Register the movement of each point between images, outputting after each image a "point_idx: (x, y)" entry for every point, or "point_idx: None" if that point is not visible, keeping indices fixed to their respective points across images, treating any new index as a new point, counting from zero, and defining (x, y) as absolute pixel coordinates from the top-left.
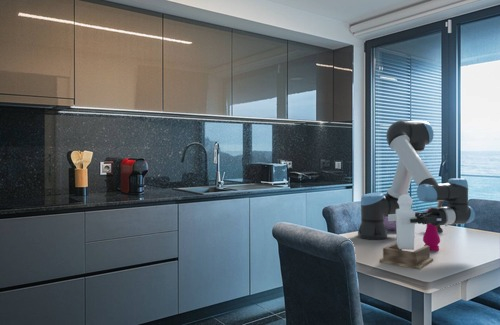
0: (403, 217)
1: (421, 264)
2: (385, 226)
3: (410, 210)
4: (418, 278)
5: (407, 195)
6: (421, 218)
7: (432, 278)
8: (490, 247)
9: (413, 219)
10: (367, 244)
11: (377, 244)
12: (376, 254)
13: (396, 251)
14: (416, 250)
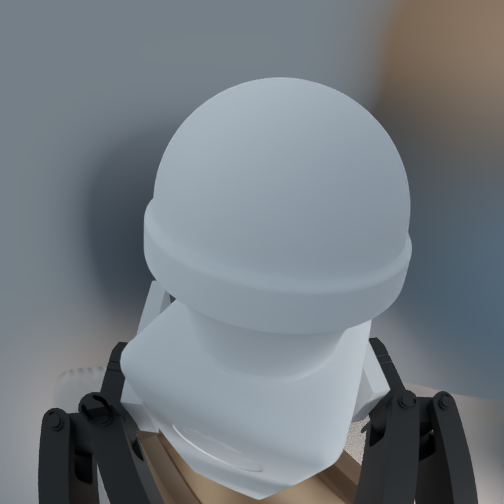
0: (160, 289)
1: (155, 478)
2: None
3: (167, 326)
4: (80, 377)
5: (227, 89)
6: (98, 447)
7: (59, 405)
8: None
9: (112, 354)
10: (492, 425)
11: (495, 455)
12: None
13: None
14: (171, 467)
